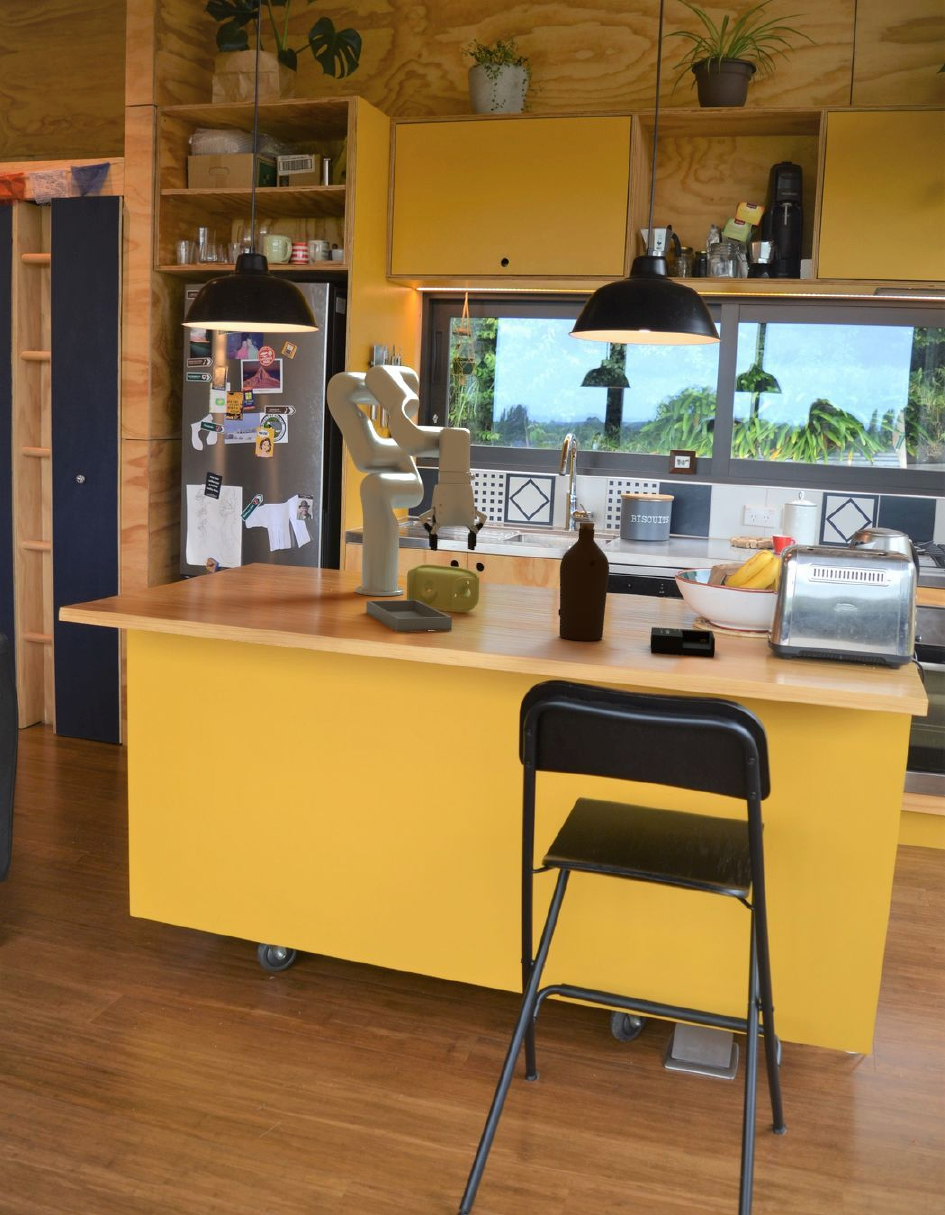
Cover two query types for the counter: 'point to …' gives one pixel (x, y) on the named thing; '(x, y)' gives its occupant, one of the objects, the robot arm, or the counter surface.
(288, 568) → the counter surface
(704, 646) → the battery charger
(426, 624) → the tray
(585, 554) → the olive oil
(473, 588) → the plastic component
